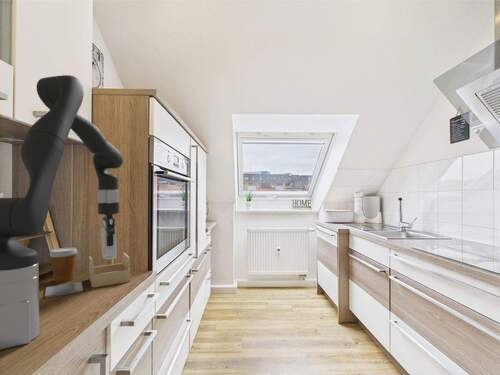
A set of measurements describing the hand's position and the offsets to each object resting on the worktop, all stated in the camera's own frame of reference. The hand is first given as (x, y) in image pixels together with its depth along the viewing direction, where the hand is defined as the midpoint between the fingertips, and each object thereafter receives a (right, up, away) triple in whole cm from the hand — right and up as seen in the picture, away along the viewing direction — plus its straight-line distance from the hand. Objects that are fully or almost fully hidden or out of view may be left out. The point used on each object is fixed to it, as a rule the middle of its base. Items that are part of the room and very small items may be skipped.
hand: (108, 244), depth 117 cm
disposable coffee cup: (-18, -14, +1) cm, 23 cm away
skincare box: (0, -5, 0) cm, 5 cm away
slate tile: (-10, -14, -11) cm, 21 cm away
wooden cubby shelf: (0, -14, 0) cm, 14 cm away
